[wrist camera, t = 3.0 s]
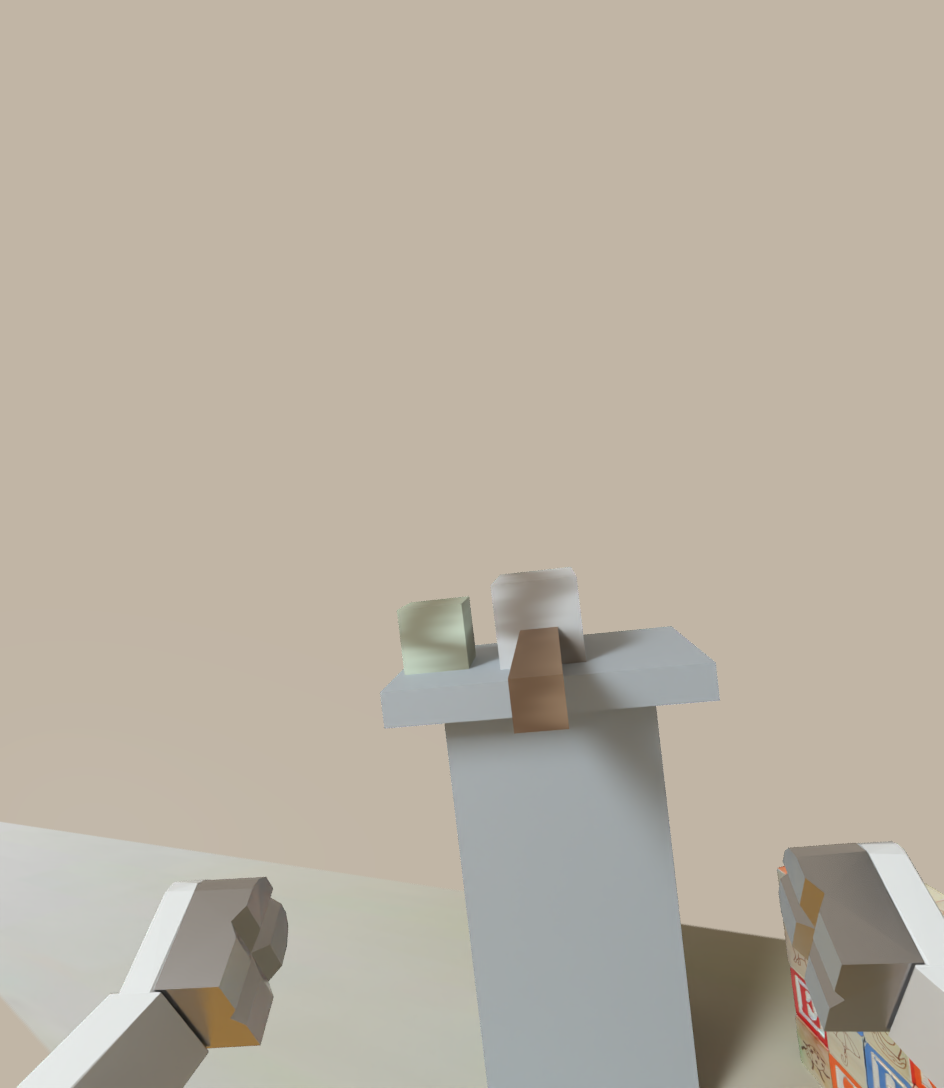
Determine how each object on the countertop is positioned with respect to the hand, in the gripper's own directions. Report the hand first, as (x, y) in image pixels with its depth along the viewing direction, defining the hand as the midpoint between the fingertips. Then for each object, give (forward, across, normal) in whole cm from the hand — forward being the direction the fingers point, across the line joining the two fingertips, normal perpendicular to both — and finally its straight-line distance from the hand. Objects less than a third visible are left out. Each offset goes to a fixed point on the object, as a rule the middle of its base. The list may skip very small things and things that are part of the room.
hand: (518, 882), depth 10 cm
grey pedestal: (+12, 0, +40) cm, 42 cm away
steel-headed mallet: (+21, 0, +15) cm, 26 cm away
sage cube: (+25, +6, +18) cm, 31 cm away
